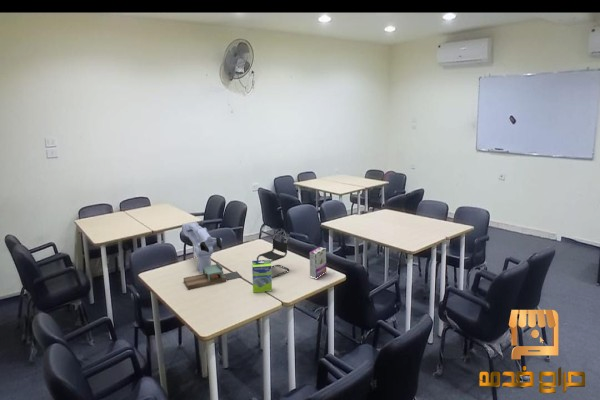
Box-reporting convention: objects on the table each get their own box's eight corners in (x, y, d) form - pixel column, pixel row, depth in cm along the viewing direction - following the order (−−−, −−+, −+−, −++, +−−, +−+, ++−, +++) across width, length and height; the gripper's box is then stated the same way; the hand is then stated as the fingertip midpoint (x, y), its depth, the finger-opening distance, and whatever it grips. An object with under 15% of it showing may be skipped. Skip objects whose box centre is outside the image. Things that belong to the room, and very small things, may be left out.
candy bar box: (319, 271, 241) (319, 246, 238) (326, 273, 238) (326, 248, 235) (309, 277, 233) (309, 251, 229) (316, 279, 230) (316, 253, 226)
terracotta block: (209, 279, 232) (208, 270, 231) (215, 278, 234) (215, 269, 232) (211, 282, 228) (210, 273, 227) (217, 280, 230) (217, 272, 229)
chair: (291, 271, 243) (291, 237, 238) (270, 279, 231) (269, 244, 226) (278, 265, 252) (277, 232, 247) (256, 273, 240) (255, 239, 235)
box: (253, 293, 214) (252, 263, 210) (252, 289, 218) (251, 260, 214) (272, 291, 216) (271, 262, 212) (271, 288, 220) (270, 259, 216)
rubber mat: (222, 274, 238) (222, 274, 238) (236, 271, 242) (236, 271, 242) (227, 280, 230) (227, 279, 230) (241, 277, 234) (241, 276, 234)
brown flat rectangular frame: (183, 281, 229) (183, 277, 228) (220, 274, 239) (220, 270, 238) (188, 289, 219) (188, 285, 218) (226, 281, 229) (226, 277, 228)
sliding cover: (203, 273, 233) (202, 264, 232) (217, 270, 237) (217, 261, 236) (208, 281, 223) (207, 270, 222) (223, 277, 227) (223, 267, 226)
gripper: (194, 236, 231) (201, 246, 220) (217, 230, 238) (226, 239, 227) (195, 246, 234) (202, 256, 223) (218, 240, 241) (226, 250, 230)
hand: (214, 249), depth 225 cm, fingers open, 7 cm apart
